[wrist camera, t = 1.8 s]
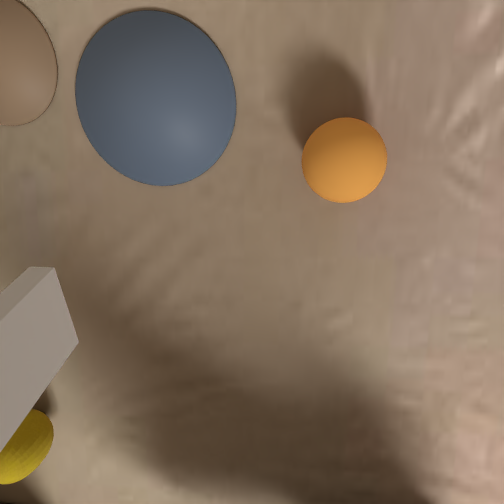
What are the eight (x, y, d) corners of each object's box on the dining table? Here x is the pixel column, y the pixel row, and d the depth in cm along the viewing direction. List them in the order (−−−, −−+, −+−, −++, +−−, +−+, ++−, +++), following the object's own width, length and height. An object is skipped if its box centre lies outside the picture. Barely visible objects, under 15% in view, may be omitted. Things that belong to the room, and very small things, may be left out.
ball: (392, 125, 30) (407, 135, 25) (365, 200, 32) (374, 222, 27) (315, 105, 30) (315, 110, 25) (293, 180, 32) (289, 199, 27)
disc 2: (253, 35, 29) (253, 35, 29) (217, 202, 34) (216, 203, 34) (83, -9, 30) (82, -10, 29) (71, 162, 34) (69, 162, 34)
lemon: (16, 386, 44) (-44, 448, 36) (69, 399, 44) (19, 465, 36) (18, 427, 46) (-39, 494, 39) (67, 440, 46) (20, 509, 38)
